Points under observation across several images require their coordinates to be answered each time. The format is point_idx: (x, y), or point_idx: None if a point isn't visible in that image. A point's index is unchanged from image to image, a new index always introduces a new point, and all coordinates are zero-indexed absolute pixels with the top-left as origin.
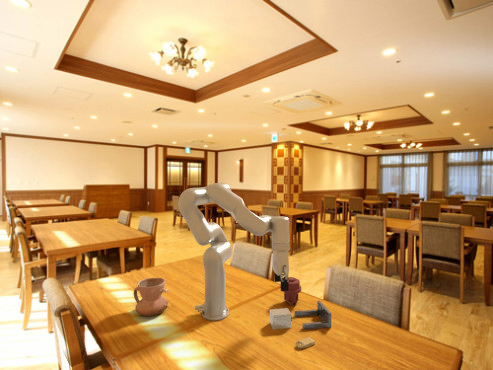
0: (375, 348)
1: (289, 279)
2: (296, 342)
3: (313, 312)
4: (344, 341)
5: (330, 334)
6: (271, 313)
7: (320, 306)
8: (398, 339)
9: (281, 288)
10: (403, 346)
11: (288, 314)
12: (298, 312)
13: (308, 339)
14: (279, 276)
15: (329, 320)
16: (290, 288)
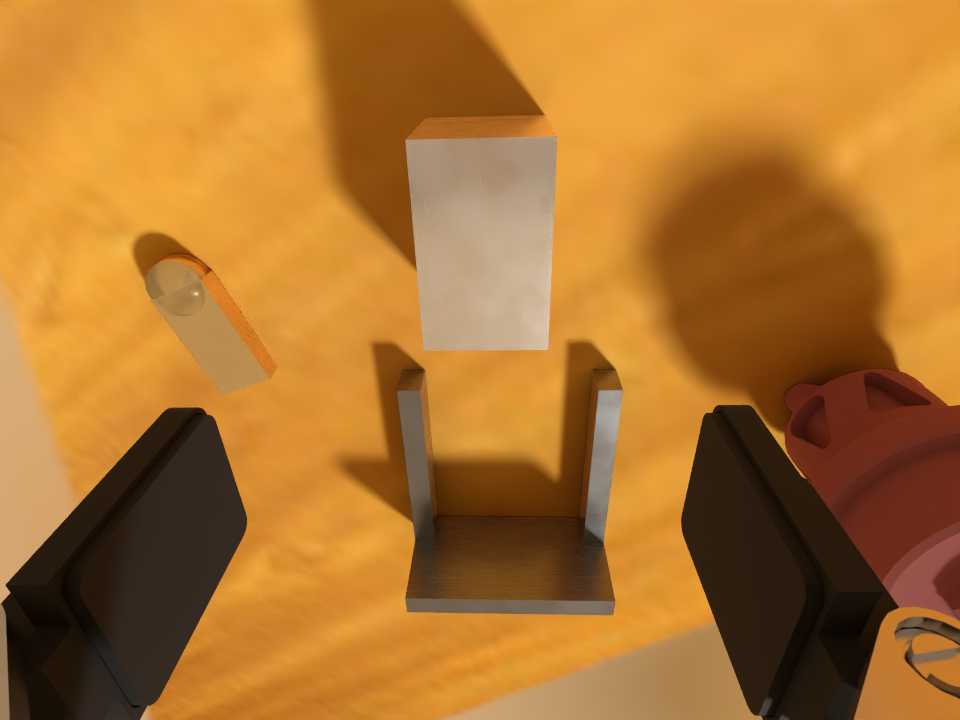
0: (228, 616)
1: None
2: (186, 269)
3: (584, 505)
4: (275, 532)
5: (343, 498)
6: (461, 137)
7: (551, 584)
8: (305, 704)
9: (143, 451)
10: (255, 696)
11: (422, 322)
12: (596, 413)
13: (238, 363)
14: (730, 595)
15: (413, 557)
16: (870, 505)
